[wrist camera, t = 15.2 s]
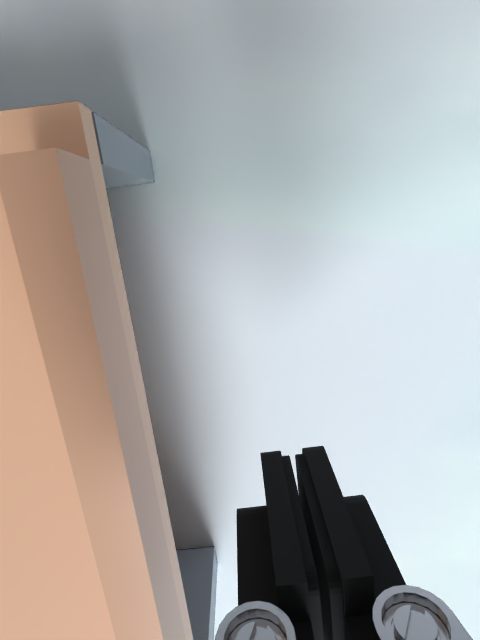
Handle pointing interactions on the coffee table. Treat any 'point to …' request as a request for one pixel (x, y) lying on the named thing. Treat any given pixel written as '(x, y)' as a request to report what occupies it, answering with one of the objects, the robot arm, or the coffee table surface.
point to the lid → (74, 405)
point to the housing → (195, 564)
